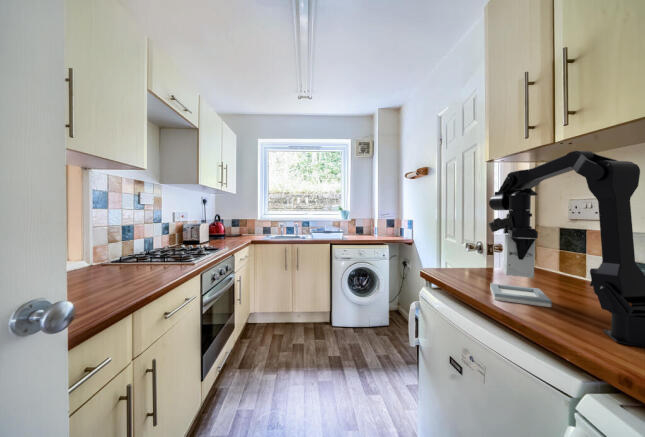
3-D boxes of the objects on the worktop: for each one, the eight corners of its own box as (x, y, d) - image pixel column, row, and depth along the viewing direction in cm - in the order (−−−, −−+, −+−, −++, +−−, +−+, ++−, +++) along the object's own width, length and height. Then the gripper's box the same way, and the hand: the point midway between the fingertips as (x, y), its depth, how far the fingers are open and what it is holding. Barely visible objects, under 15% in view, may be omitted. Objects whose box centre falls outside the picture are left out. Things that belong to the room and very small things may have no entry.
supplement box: (505, 275, 84) (506, 237, 84) (502, 271, 91) (503, 235, 90) (534, 278, 81) (535, 238, 80) (529, 273, 87) (530, 236, 87)
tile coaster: (551, 307, 77) (551, 300, 77) (494, 299, 83) (494, 293, 83) (538, 294, 89) (538, 288, 89) (490, 288, 96) (490, 283, 95)
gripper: (487, 210, 97) (486, 252, 98) (493, 209, 81) (492, 260, 81) (524, 210, 92) (523, 254, 93) (538, 210, 76) (537, 263, 76)
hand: (518, 257), depth 86 cm, fingers closed on supplement box, 7 cm apart
